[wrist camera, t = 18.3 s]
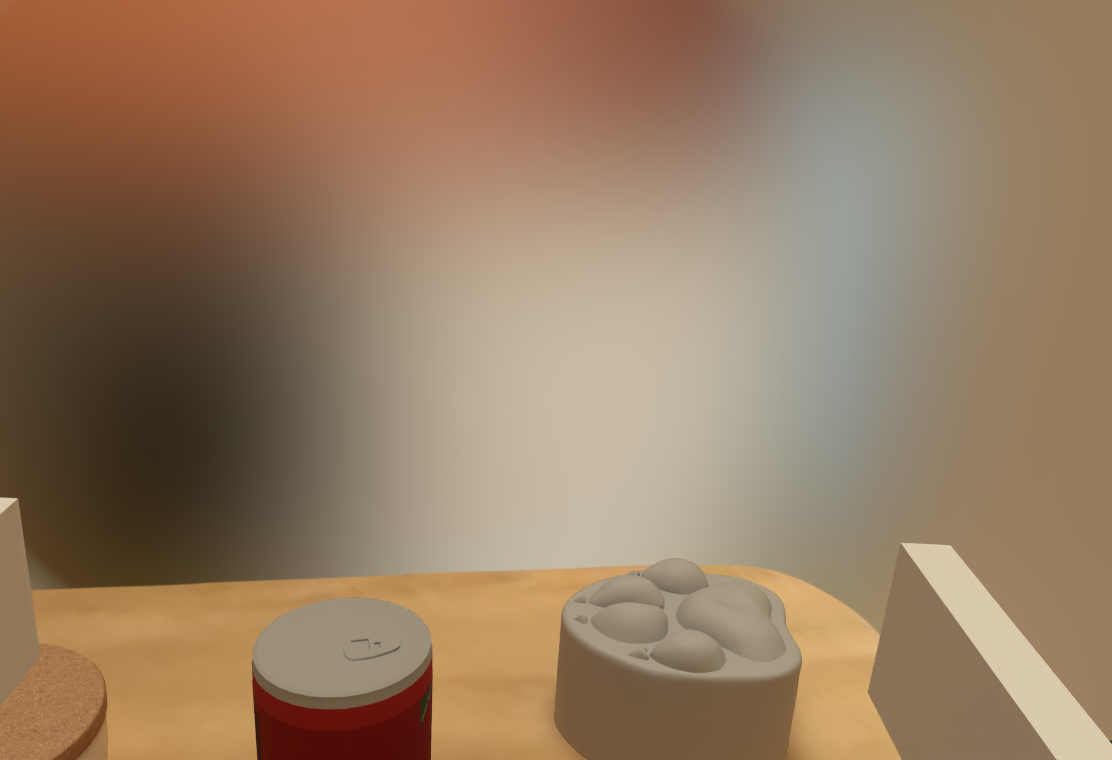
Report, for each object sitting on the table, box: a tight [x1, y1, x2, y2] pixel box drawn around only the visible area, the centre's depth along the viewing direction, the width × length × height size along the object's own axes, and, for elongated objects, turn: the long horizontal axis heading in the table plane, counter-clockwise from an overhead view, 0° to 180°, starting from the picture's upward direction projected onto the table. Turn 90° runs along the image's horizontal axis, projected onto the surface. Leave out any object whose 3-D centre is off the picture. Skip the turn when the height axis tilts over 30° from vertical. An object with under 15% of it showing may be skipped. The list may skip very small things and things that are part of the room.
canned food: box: [252, 598, 433, 760], centre depth 44 cm, size 8×8×11 cm
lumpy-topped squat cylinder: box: [554, 558, 802, 760], centre depth 54 cm, size 10×13×9 cm
